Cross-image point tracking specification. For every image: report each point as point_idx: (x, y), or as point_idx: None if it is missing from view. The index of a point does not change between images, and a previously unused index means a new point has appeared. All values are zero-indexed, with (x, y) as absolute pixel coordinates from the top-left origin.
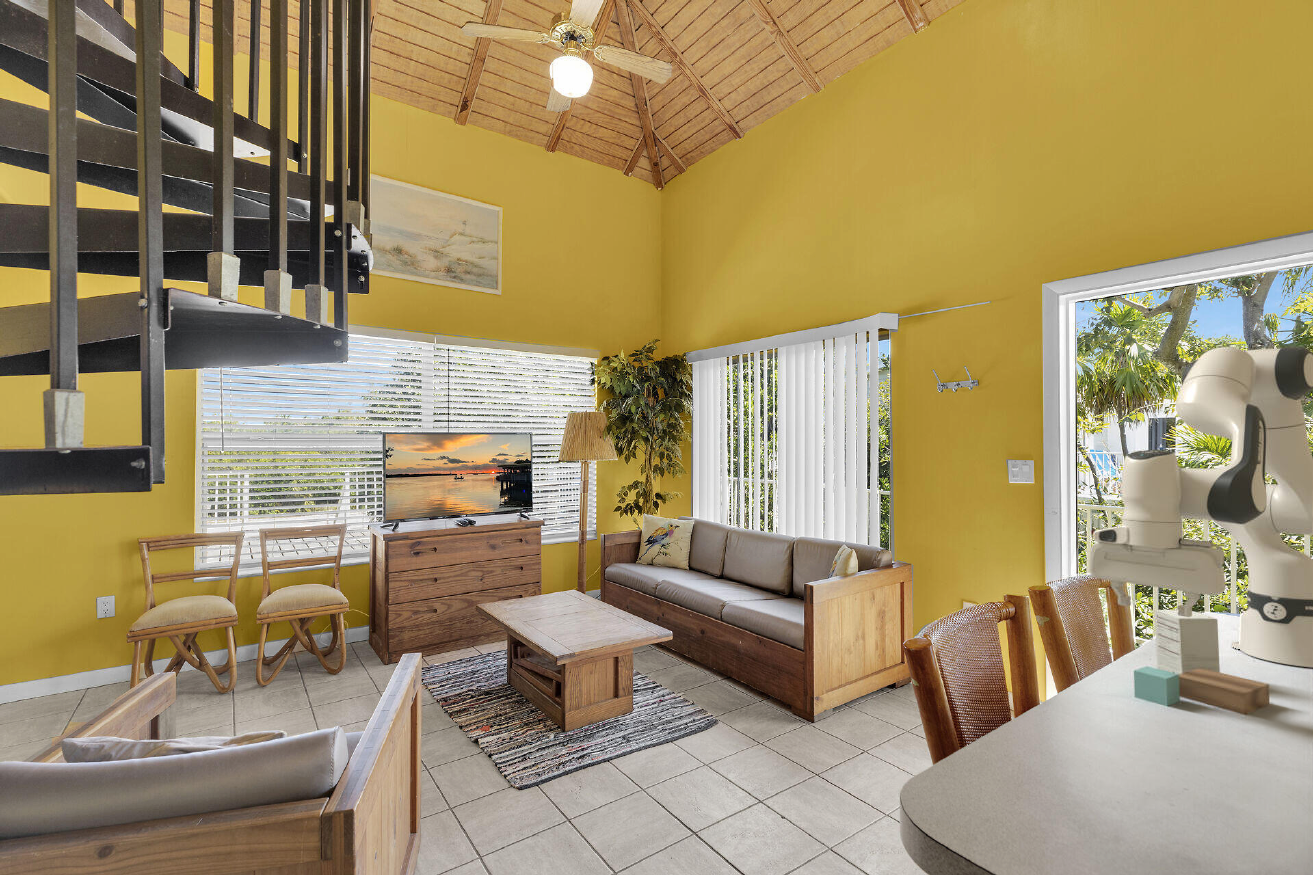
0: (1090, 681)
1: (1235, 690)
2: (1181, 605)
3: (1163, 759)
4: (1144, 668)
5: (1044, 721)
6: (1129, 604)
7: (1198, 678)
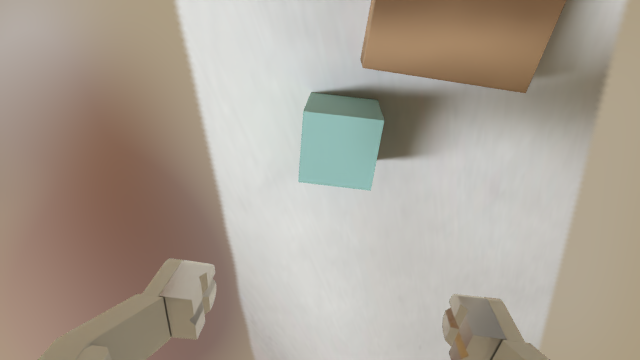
0: (204, 121)
1: (508, 79)
2: (471, 352)
3: (408, 357)
4: (307, 140)
5: (272, 348)
6: (211, 275)
7: (418, 34)
